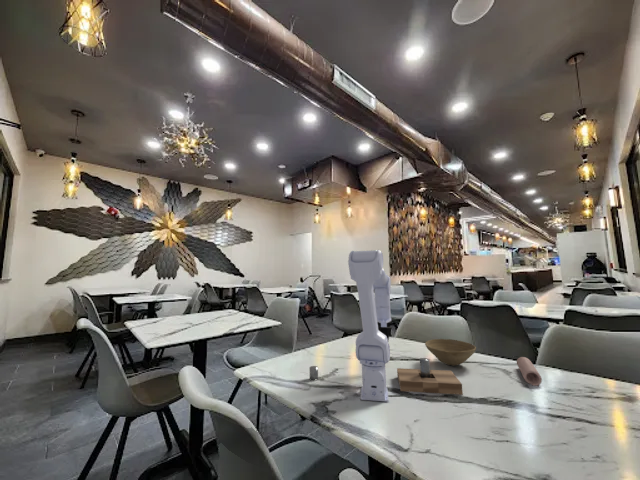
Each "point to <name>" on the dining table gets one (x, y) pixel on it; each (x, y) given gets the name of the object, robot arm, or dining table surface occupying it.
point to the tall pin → (424, 368)
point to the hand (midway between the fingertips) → (384, 343)
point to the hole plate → (429, 381)
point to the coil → (529, 371)
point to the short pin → (313, 372)
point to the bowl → (450, 350)
